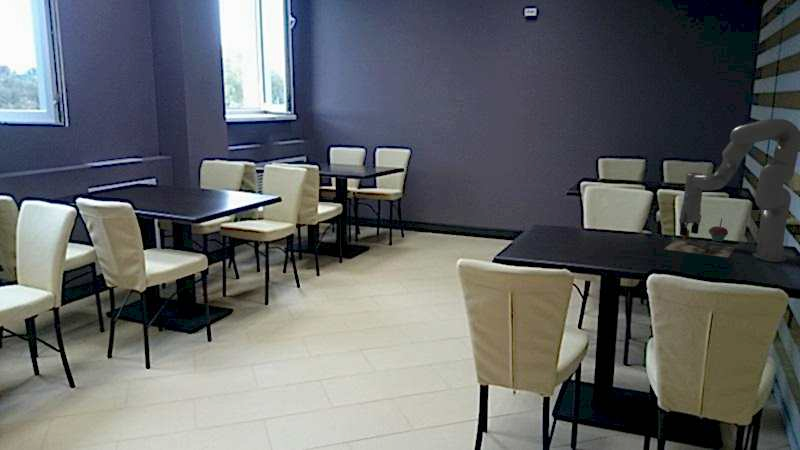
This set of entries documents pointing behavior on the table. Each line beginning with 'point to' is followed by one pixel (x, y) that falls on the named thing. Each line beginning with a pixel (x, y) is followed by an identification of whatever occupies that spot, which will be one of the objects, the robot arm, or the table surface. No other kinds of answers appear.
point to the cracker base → (690, 248)
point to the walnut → (706, 247)
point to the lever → (686, 239)
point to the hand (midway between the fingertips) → (688, 234)
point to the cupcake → (718, 233)
